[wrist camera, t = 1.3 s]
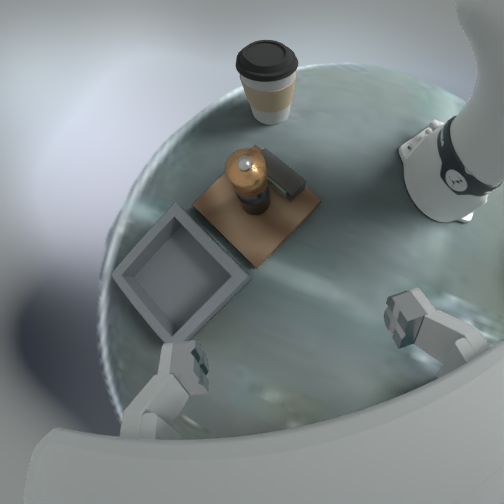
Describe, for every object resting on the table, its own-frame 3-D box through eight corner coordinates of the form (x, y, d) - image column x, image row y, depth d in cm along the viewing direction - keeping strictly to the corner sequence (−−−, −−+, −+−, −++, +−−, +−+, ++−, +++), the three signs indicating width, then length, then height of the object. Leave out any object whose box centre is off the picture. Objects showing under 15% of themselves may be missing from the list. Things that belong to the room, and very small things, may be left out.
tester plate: (255, 149, 43) (253, 135, 39) (320, 203, 41) (324, 192, 37) (194, 207, 43) (185, 198, 39) (256, 268, 40) (253, 265, 36)
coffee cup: (280, 87, 45) (277, 28, 30) (305, 118, 44) (311, 58, 29) (238, 104, 45) (223, 46, 31) (260, 137, 44) (250, 77, 29)
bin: (186, 212, 43) (175, 202, 38) (252, 278, 40) (248, 275, 35) (126, 277, 43) (110, 274, 38) (184, 345, 40) (172, 351, 35)
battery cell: (255, 182, 41) (244, 138, 28) (276, 200, 40) (273, 161, 28) (234, 202, 41) (215, 164, 28) (255, 221, 40) (244, 189, 27)
